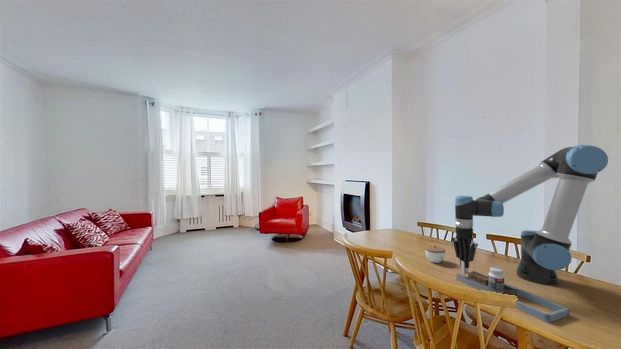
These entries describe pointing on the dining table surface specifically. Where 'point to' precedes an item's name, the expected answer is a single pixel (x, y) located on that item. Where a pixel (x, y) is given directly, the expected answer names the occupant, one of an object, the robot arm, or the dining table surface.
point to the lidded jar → (435, 253)
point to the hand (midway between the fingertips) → (464, 273)
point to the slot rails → (482, 286)
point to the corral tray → (558, 310)
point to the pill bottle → (496, 279)
